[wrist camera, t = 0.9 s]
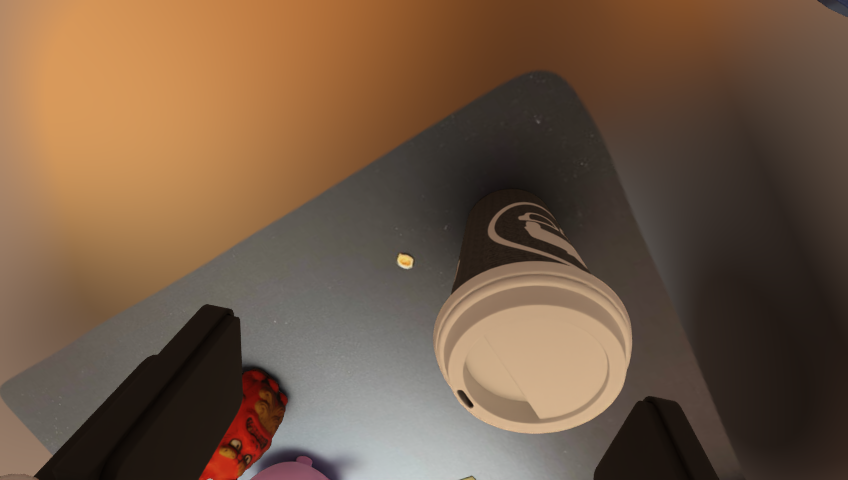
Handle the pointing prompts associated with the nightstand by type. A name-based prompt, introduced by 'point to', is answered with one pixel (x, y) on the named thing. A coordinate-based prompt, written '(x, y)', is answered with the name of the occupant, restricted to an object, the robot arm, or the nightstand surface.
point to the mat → (469, 478)
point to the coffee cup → (529, 323)
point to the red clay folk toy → (248, 428)
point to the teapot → (291, 471)
